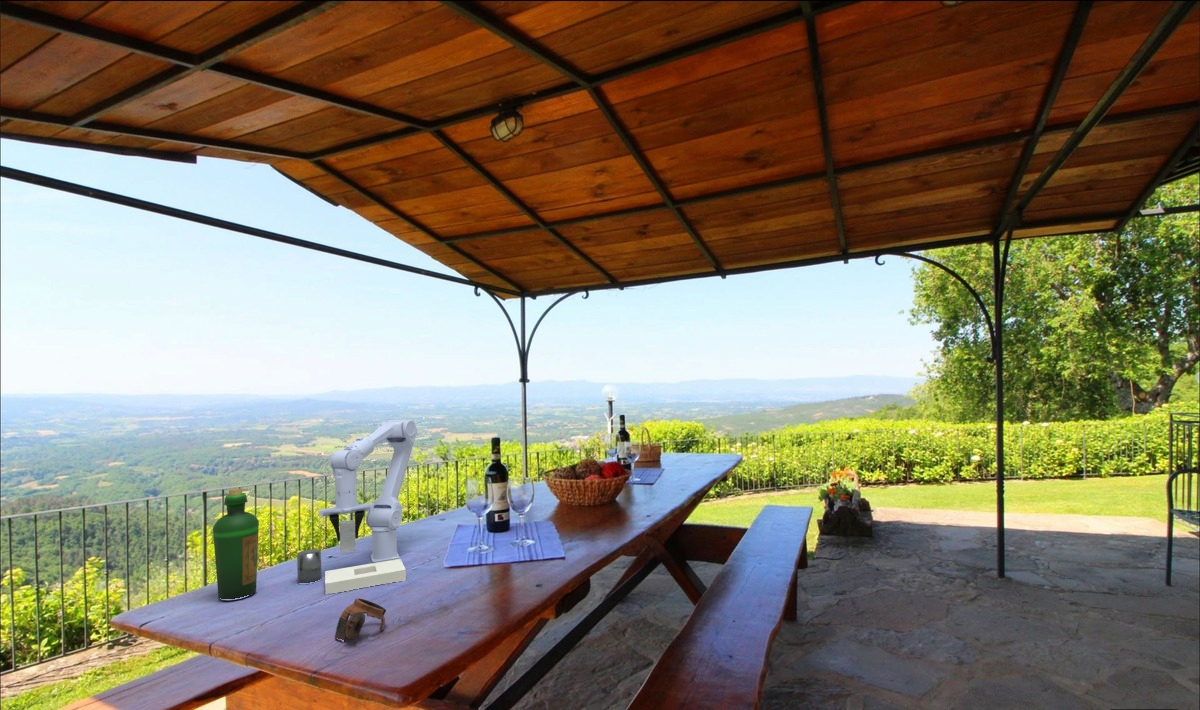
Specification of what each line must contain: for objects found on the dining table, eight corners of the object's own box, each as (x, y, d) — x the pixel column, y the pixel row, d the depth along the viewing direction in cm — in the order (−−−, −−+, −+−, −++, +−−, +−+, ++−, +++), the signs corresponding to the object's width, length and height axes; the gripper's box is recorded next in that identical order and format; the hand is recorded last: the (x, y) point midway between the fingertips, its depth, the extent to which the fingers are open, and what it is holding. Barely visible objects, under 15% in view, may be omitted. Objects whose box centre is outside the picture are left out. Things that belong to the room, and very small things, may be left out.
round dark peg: (298, 579, 165) (297, 551, 165) (321, 575, 167) (320, 547, 168) (297, 586, 159) (296, 556, 160) (321, 581, 162) (320, 552, 162)
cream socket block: (325, 582, 162) (325, 571, 162) (400, 569, 170) (400, 558, 170) (325, 595, 151) (325, 583, 151) (406, 580, 159) (405, 569, 160)
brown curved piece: (335, 632, 128) (354, 594, 131) (376, 647, 129) (393, 609, 132) (323, 639, 117) (344, 598, 120) (367, 656, 118) (386, 615, 121)
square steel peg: (340, 549, 169) (339, 521, 169) (355, 547, 171) (354, 519, 171) (340, 553, 165) (339, 524, 166) (355, 550, 167) (354, 522, 167)
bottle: (266, 594, 154) (264, 488, 155) (219, 607, 146) (217, 494, 147) (253, 586, 161) (251, 484, 162) (208, 598, 153) (206, 491, 154)
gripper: (318, 496, 162) (319, 546, 161) (373, 490, 168) (375, 537, 168) (318, 493, 168) (319, 540, 168) (372, 487, 175) (373, 532, 174)
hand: (347, 538), depth 168 cm, fingers closed on square steel peg, 4 cm apart
